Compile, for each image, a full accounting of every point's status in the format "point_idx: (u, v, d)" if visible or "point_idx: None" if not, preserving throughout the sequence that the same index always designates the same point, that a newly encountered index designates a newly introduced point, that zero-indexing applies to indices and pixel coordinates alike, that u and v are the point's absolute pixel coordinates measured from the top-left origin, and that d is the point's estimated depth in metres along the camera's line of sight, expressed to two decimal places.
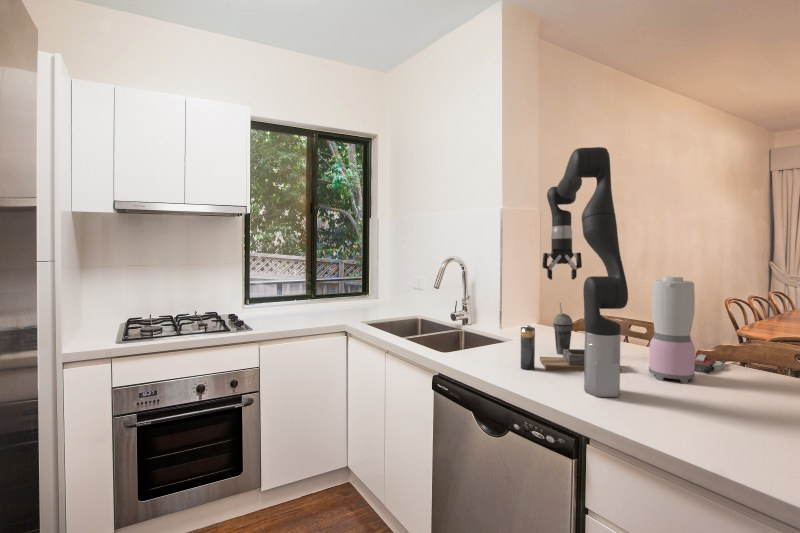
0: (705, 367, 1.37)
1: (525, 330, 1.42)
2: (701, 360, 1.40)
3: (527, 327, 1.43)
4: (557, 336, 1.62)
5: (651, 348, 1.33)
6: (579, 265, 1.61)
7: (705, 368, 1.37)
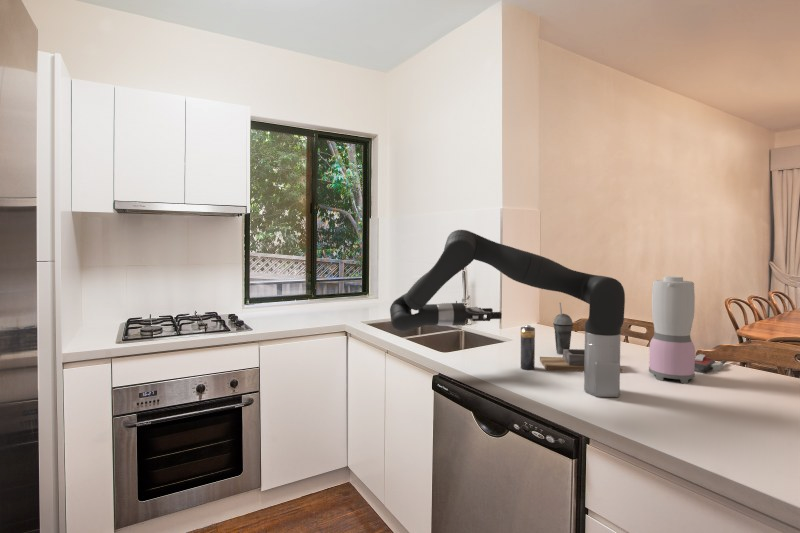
0: (702, 367, 1.37)
1: (525, 330, 1.42)
2: (699, 360, 1.40)
3: (527, 327, 1.43)
4: (557, 336, 1.62)
5: (651, 348, 1.33)
6: None
7: (703, 368, 1.37)
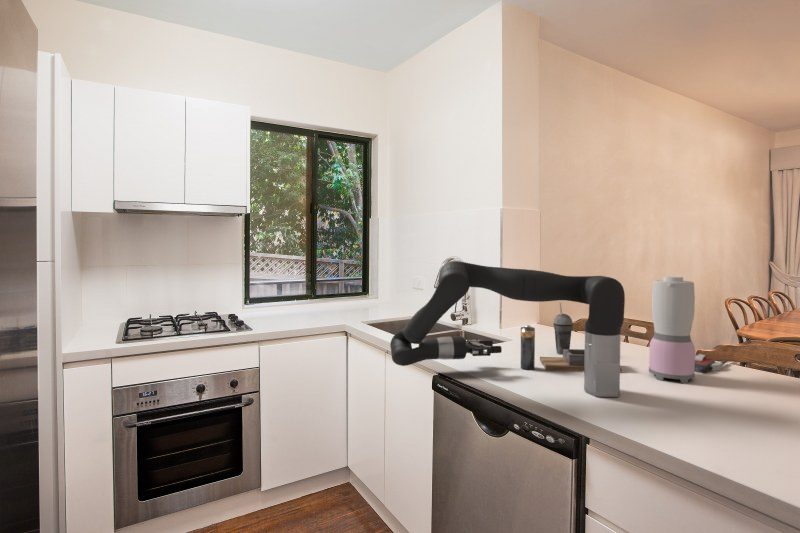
0: (702, 367, 1.37)
1: (525, 330, 1.42)
2: (699, 360, 1.40)
3: (527, 327, 1.43)
4: (557, 336, 1.62)
5: (651, 348, 1.33)
6: (475, 339, 1.48)
7: (702, 368, 1.37)
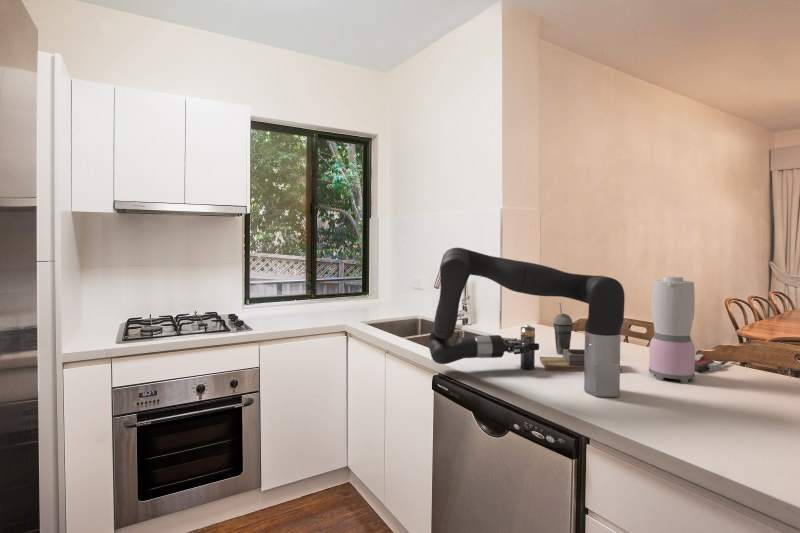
0: (697, 366, 1.38)
1: (525, 330, 1.42)
2: (696, 359, 1.41)
3: (527, 327, 1.43)
4: (557, 336, 1.62)
5: (651, 348, 1.33)
6: (514, 339, 1.48)
7: (698, 367, 1.38)
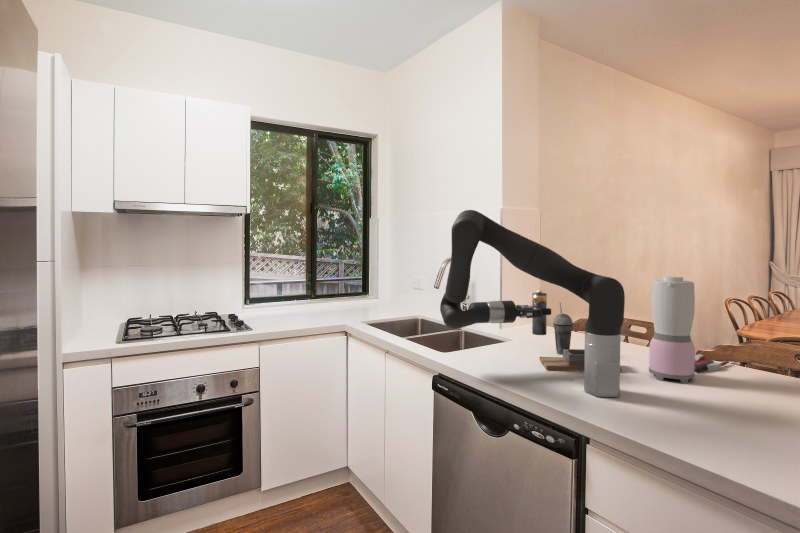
0: (695, 366, 1.38)
1: (537, 295, 1.41)
2: None
3: (539, 292, 1.42)
4: (557, 336, 1.62)
5: (651, 348, 1.33)
6: None
7: (696, 367, 1.38)
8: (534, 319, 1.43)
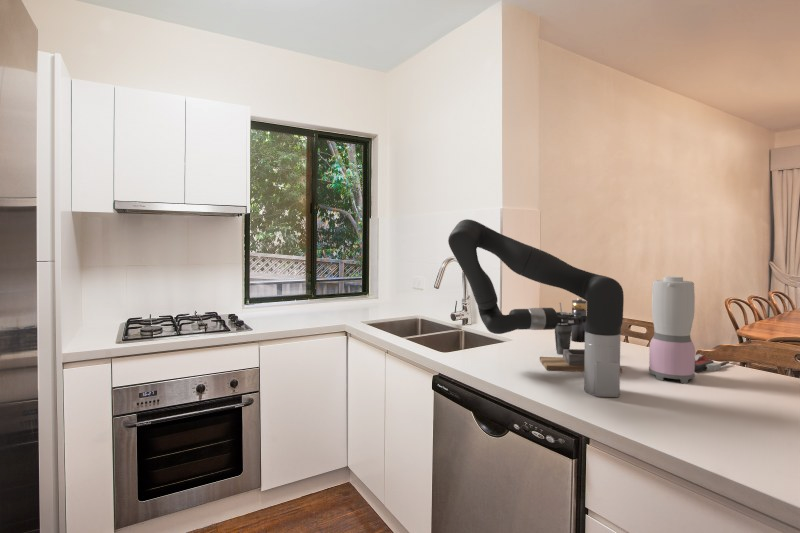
0: None
1: (577, 303, 1.43)
2: None
3: (579, 300, 1.44)
4: (557, 336, 1.62)
5: (651, 348, 1.33)
6: None
7: None
8: (574, 326, 1.44)
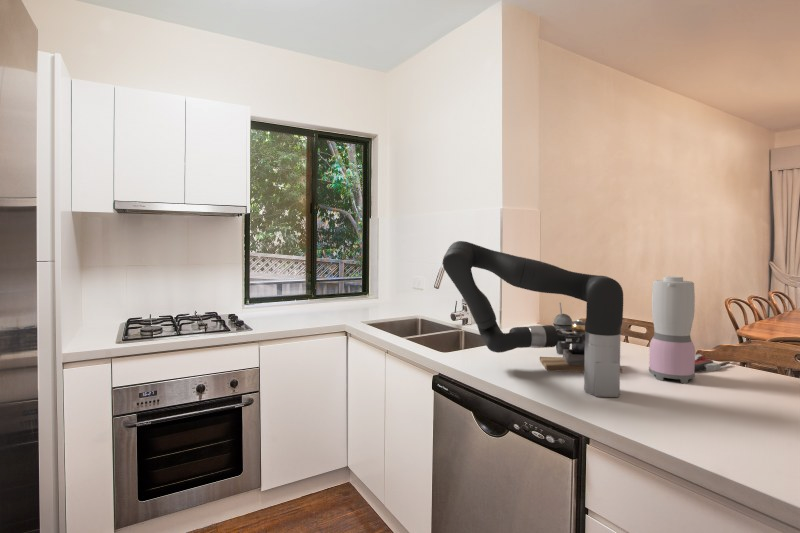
0: None
1: (577, 324, 1.43)
2: None
3: (579, 321, 1.44)
4: None
5: (651, 348, 1.33)
6: (560, 328, 1.51)
7: None
8: (574, 348, 1.44)
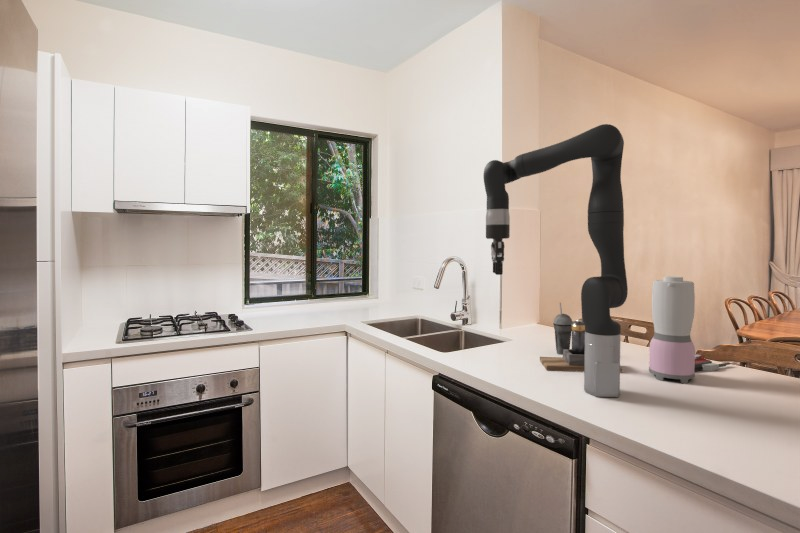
0: None
1: (577, 324, 1.43)
2: None
3: (578, 321, 1.44)
4: (557, 336, 1.62)
5: (651, 348, 1.33)
6: None
7: None
8: (574, 348, 1.44)
